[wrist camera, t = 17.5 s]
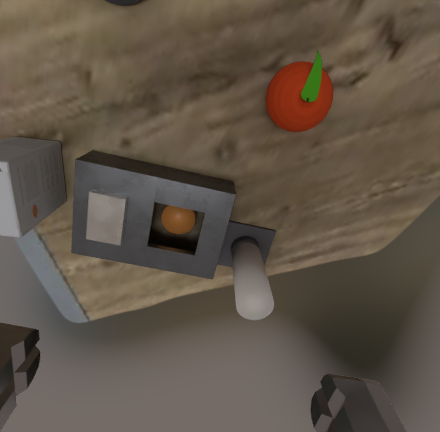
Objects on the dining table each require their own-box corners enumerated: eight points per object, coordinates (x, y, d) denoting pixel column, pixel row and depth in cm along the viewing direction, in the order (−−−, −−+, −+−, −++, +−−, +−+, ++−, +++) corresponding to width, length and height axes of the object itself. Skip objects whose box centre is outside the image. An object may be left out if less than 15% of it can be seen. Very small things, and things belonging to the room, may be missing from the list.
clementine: (274, 45, 32) (289, 35, 26) (333, 62, 33) (362, 56, 27) (254, 119, 35) (263, 127, 29) (308, 133, 36) (328, 144, 30)
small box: (14, 135, 36) (-59, 153, 26) (62, 140, 36) (6, 160, 26) (24, 197, 39) (-38, 233, 29) (68, 201, 39) (20, 239, 30)
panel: (233, 181, 38) (236, 197, 33) (213, 258, 43) (212, 283, 38) (92, 150, 37) (71, 161, 31) (87, 234, 41) (67, 257, 36)
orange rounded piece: (198, 203, 39) (198, 207, 38) (192, 232, 41) (191, 237, 40) (166, 196, 39) (164, 200, 37) (160, 225, 40) (159, 230, 39)
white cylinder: (262, 239, 41) (279, 293, 30) (254, 262, 43) (267, 322, 32) (235, 233, 41) (241, 286, 30) (227, 257, 43) (231, 316, 32)
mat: (275, 230, 41) (275, 231, 41) (261, 271, 44) (261, 272, 44) (227, 220, 41) (227, 221, 40) (215, 262, 43) (215, 263, 43)
